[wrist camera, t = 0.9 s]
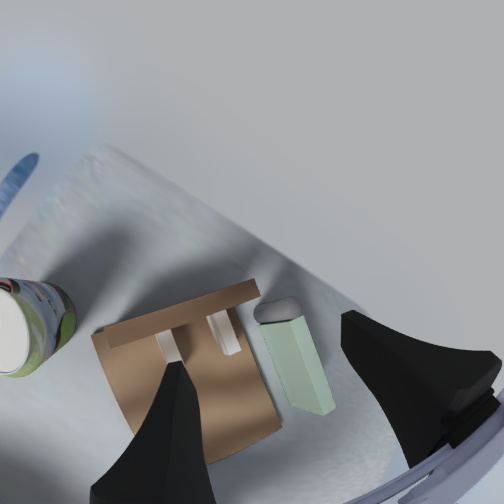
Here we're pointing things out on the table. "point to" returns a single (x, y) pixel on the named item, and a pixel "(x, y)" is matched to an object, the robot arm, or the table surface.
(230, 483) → the table surface
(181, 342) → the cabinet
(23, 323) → the beverage can
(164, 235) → the table surface
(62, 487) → the table surface
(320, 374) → the green piece
